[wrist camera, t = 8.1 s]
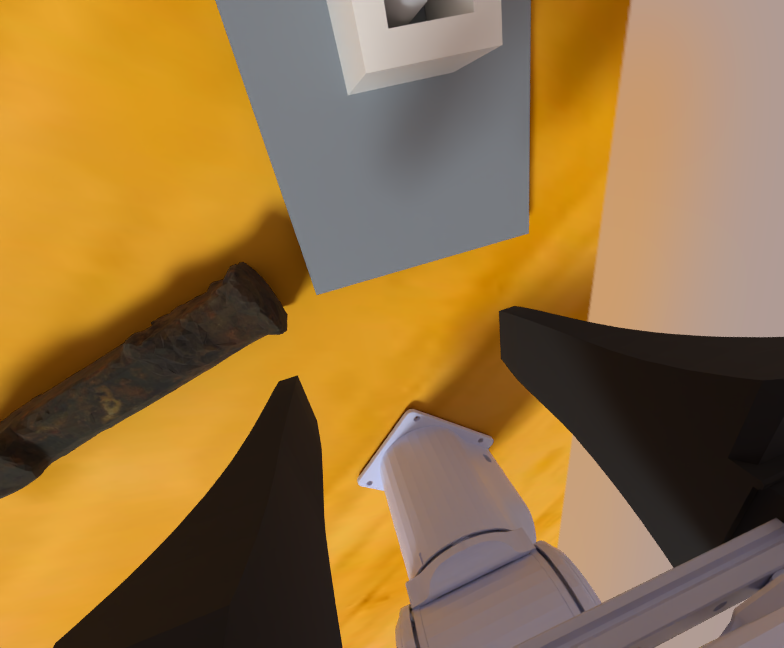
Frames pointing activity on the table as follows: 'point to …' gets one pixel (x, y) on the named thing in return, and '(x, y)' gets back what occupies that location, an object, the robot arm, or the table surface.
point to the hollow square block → (411, 40)
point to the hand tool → (138, 373)
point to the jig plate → (386, 141)
